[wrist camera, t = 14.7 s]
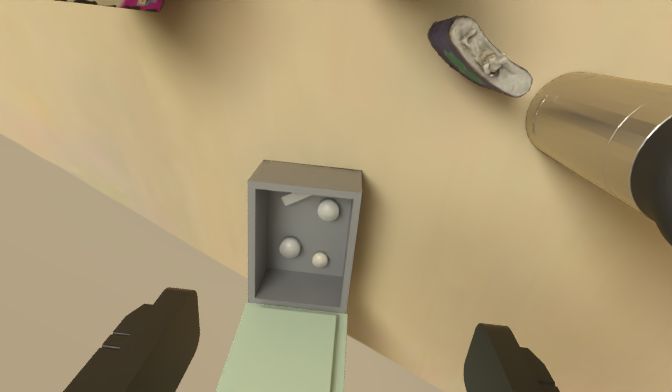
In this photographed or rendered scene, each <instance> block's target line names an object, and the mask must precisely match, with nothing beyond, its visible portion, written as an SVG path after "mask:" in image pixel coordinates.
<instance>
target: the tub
mask: <svg viewBox="0 0 672 392" xmlns="http://www.w3.org/2000/svg"><path fill="white" fill-rule="evenodd" d="M361 198H362V170H353V169H344V168H334V167H325V166H316V165H306V164H297V163H288V162H278V161H269V160H263V162H262V163H261V164H260V166H259V167H258V168H257V169H256V171H255V172H254V173H253V175H252V176H251V177H250V179H249V180H248V303H256V304H265V305H274V306H283V307H292V308H301V309H309V310H318V311H327V312H336V313H345V314H346V311H347V303H348V296H349V288H350V281H351V273H352V266H353V258H354V251H355V243H356V236H357V228H358V221H359V213H360V206H361Z"/></svg>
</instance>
